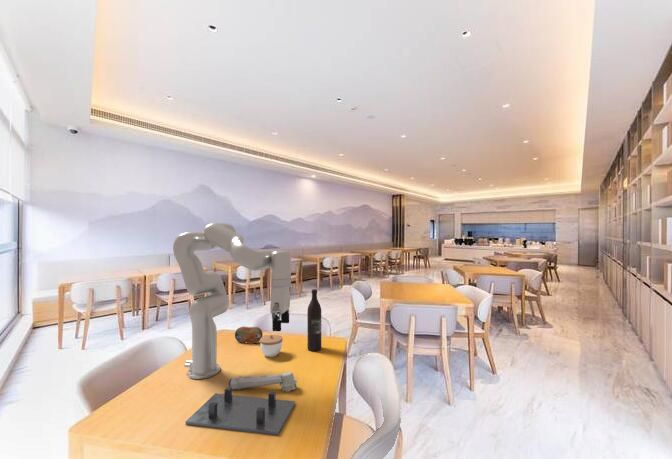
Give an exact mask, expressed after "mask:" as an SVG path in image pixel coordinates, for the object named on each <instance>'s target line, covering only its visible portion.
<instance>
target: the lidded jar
mask: <svg viewBox="0 0 672 459" xmlns="http://www.w3.org/2000/svg"><path fill="white" fill-rule="evenodd" d="M259 342H260V350H261V353H262V354H263V355H264V356H265V357H266V358H275V357H276V356H278V355H279V353H280V352H281V350H282V348H283V336H282V335H279V334H267V335H264V336H262V338H261V339H260V341H259Z"/></svg>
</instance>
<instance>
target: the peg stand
mask: <svg viewBox="0 0 672 459" xmlns="http://www.w3.org/2000/svg"><path fill="white" fill-rule="evenodd" d="M295 405H296V401H295V400H286V399H277V392H276V391H269V393H268V394H267V398H266V397H256V396H246V395H234V394H233V390H232V388H229V386H228V387H225V389H224V392H223V393H214V394H213V395H212V396H211V397H210V398H209V399H208V400H207V401H205V403H203V405H201V406H200V407H199V408H198V409H197V410H196V411H195V412H194V413H193V414H192V415H191V416H189V418H187V419H186V420H185V425H186V426H187V425H188V426H195V427H202V428H211V429H220V430H226V431H228V430H229V431H238V432H246V433H251V434H252V433H254V434H262V435H269V436H270V435H271V436H277V437H278V436H280V433H281V432H282V430H283V428H284V426H285V424H286V422H287V420H288V419H289V417H290V415H291V413H292V410H293V409H294V407H295Z"/></svg>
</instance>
